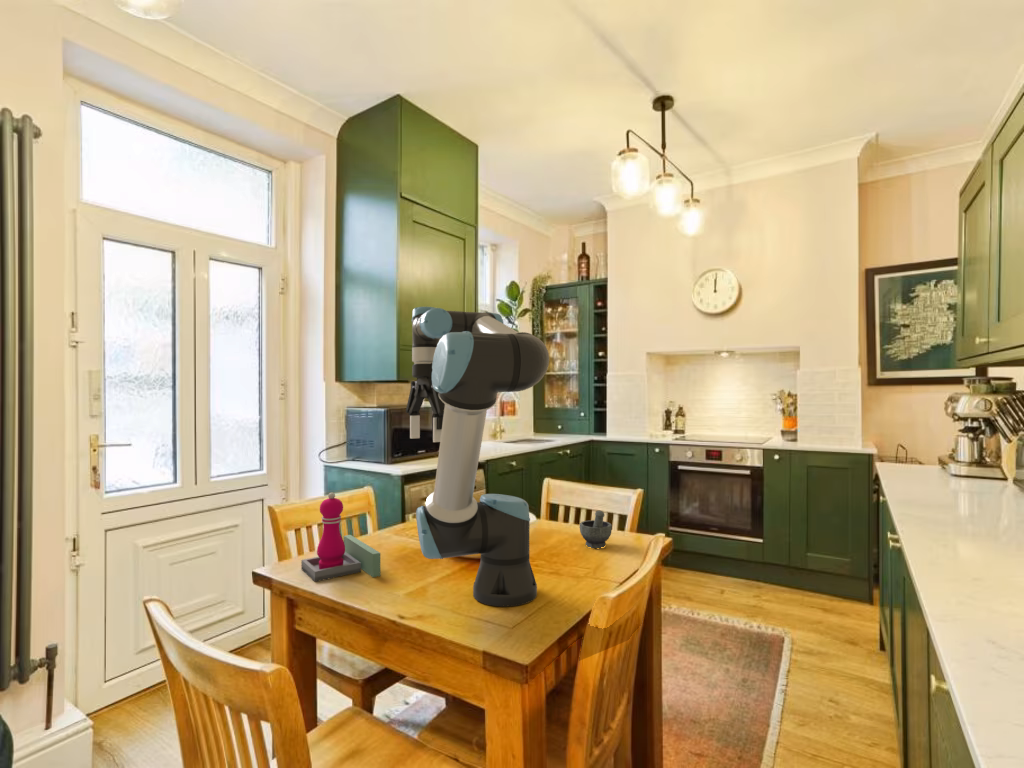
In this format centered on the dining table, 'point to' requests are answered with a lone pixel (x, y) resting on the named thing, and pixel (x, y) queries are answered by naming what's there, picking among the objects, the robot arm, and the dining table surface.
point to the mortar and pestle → (596, 531)
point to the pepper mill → (331, 534)
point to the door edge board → (363, 555)
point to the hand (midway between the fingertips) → (426, 440)
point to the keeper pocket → (317, 574)
